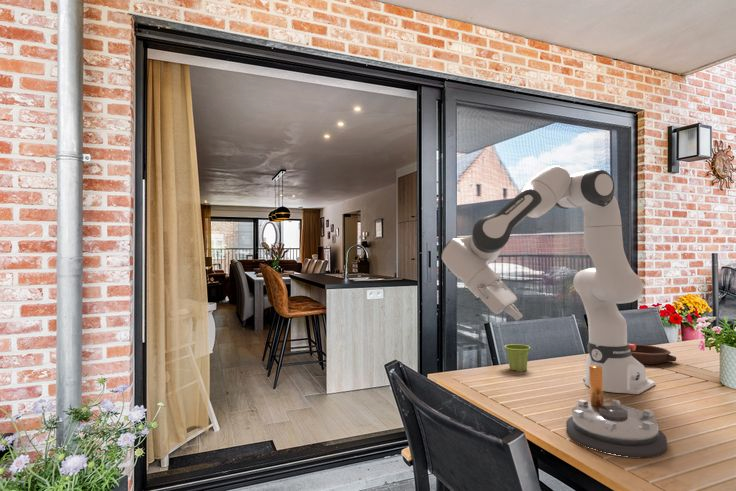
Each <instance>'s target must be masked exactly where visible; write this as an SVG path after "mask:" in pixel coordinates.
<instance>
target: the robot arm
mask: <svg viewBox="0 0 736 491" xmlns="http://www.w3.org/2000/svg"><path fill="white" fill-rule="evenodd" d="M614 195H615V181H614V179H613V177H612V175H611V174H610V173H609V172H608V171H607V170H603V169H590V170H587V171H581V172H576V173H574V174H571V175H570V173H569V172H568V170H567V169H565V168H564V167H563V166H560V165H551V166H548V167H546V168H545V169H543V170H542V171H540V172H538V173H537V174H535V176H533V177H532V178H531V179H530V180H529V181H527V182H526V183H525V184H524V185H523V186H522V187H521V188H520V190H519V191H518V192H517V194H516V195H515V196H514V198H513V199H511V200H510V201H509V202H508V203H506V204H505V205H504V206H503V207H501V209H500V210H498V211H496V212H495V213H493V214H490V215H486V216H484V217H481V218H480V219H479V220H477V222H476V223H475V224H474V226H473V229H472V233H471V235H469V236H465V237H460V238H458V237H457V238H455V237H454V238H452V239H450V240H449V241H448V242H447V243H446V244H445V245H444V248H443V249H442V251H441V256H440V257H441V260H442V262H443V263H444V265H445V266H446V267H447V268H448V269H449V271H450V272H451V273H452V274H453V275H454V276H455V277H456V278H458V279H460V280H461V281H462V283H463V284H464V286H465V287H466V288H467V289H468V290H469V291H470V292H471V293H472V294H473V295H474V296H475V297H476V298H477V299H478V298H479V299H480V300H481V301H482V302H483V303H484V304H485V306H486V307H488V309H490V311H491V312H492V313H494V314H495V315H499V314H500V313H502V312H505V313H506V314H507V315H509V316H510V317H512V318H513V319H514V320H515V321H519V320H521V319H522V318H523V316H524V315H523V314H522V313H521V312H520V311H519V309H518V308H517V306H516V305H515V304H514V303H515V302H516V301H517V300H518V298H517V296H516V295H515V294H514V292H513V291H512V290H511V288H509V287H508V286H507V284H506V283H505V282H503V281H502V277H501V276H500V275H499V274H498V273H496V272H495V271H494V270H493V269H492V268H491V267H490V266H489V265H490V264H491V263H493V262H494V261H496V260H497V258H498V257H499V256H500V254H501V253H502V250H503V249H504V247H505V246H506V244H507V243H508V241H509V239H510V237H511V233H512V231H513V229H514V228H515V227H516V226H517V225H518V224H520V223H521V222H522V221H523V220H524V219H525V218H526V217H528V218H532V219H537V218H540V217H541V216H543V215H544V214H547V212H549V211H550V210H551V209H552V208H553V207H556V208H560V209H571V208H572V209H574V208H575V209H576V208H581V210H582V212H583V238H584V240H583V241H584V249H585V252H586V253H587V255H588V256H589V257H590V259H591V260H592V262H593V265H594V267H589V268H585V269H582V270H579V271H578V272H576V274H575V275H574V277H573V280H572V281H573V283H572V284H573V285H572V286H573V288H574V290H575V291H576V293H577V295H579V297H580V299H581V301H582V304H583V308H584V311H585V313H586V318H587V324H588V326H587V328H588V342H587V353H588V355H587V356H586V360H585V375H583V376H582V379H583V381H585V382H584V384H585V385H586V386H587V387H589V388H590V376H589V366H591V365H596V366H601V367H602V375H603V392H607V393H617V394H632V395H640V394H641V393H643V392H645V391H647V390H648V389H650V388H652V387H654V386H655V385H656V382H655V381H654V380H652V379H650V378H647V373H646V368H645V365H644V364H641V363H640V362H638V361H637V360H636V359H635V358H634V357H633V356H631V355H632V354H631V350H633V351H634V350H636V347H635V344H634V343H628V328H627V326H628V325H627V320H626V318H625V317H624V315H622V314H621V312H620V310H619V308H618V306H617V304H628V303H629V304H630V303H633V302H635V301H637V300H639V299H640V298H641V296H642V294H643V291H644V284H643V281H642V278H640V276H639V275H638V274H636V273H635V271H634V270H633V269H632V267H631V265H630V263H629V261H628V258H627V255H626V252H625V250H624V249H625V248H624V240H623V239H624V238H623V225H622V223H623V222H622V216H621V210H620V206H619V203H618V200H617V198H616V196H614Z"/></svg>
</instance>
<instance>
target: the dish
mask: <svg viewBox="0 0 736 491" xmlns="http://www.w3.org/2000/svg"><path fill="white" fill-rule="evenodd" d="M635 347H636V350H634V351H633V350H631V354H632V355H631V356H633V357H634V358H635V359H636V360H637V361H638V362H640V363H641V364H642V365H660V364H663V363H665V362H676V361H677V356H675V355H671V353H672V352H671V351H670V350H668V349H665V348H663V347H659V346H655V345H647V344H635Z"/></svg>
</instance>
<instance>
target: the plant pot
mask: <svg viewBox="0 0 736 491" xmlns="http://www.w3.org/2000/svg"><path fill="white" fill-rule="evenodd" d="M504 348H505V351H506V355H507V360H508V365H509V370H511V371H516V372H525V371H527V369H528V361H529V359H528V357H529V353H530V349H531V347H530V345H525V344H520V343H518V344H516V343H515V344H513V343H512V344H511V343H510V344H505V345H504Z"/></svg>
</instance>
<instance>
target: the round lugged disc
mask: <svg viewBox="0 0 736 491" xmlns="http://www.w3.org/2000/svg"><path fill="white" fill-rule="evenodd" d="M589 376H590V387H589V398H590V400H589V401H590V402H588V400H585V399H578V400H577V405H575V406H574V407H573V408H572V409H571V410H572V411H571V412H572V416H573V425H574V427H575V428H576V429H577V430H578V431H580V432H581V433H583V434H585V435H587V436H589V437H592V438H594V439H598V440H601V441H605V442H609V443H614V444H621V445H646V444H651V443H653V442H655V441H657V440H658V438H659V432H658V429H659V422H658V420H657V419H656V417H654V415H655V414H654V412H655V411H653V410H651V409H648V408H647V409H643V410H640V409H637V408H634V407H631V406H627V405H623V404H621V400H619V399H616V398H613V399H610V400H609V401H610V402H609V403H608V402H604V391H603V375H602V367H601V366H596V365H591V366H589ZM572 416H571V417H572Z"/></svg>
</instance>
